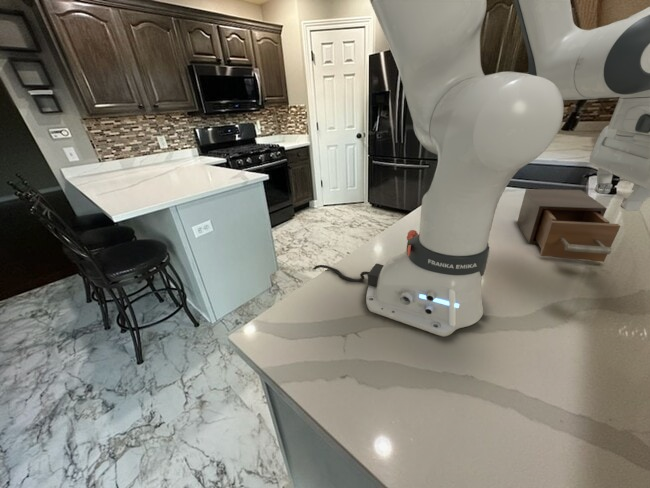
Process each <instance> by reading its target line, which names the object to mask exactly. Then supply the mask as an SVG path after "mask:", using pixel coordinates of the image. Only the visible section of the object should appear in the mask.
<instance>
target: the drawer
mask: <svg viewBox="0 0 650 488" xmlns="http://www.w3.org/2000/svg"><path fill="white" fill-rule="evenodd" d="M620 228H621V225H620V224H619V223H610V221H609V220H608V219H607V218H606V217H604V216H601V215H600V214H599V213H598V212H596V211H582V210H555V209H543V210H542V213H541V217H540V220H539V223H538V226H537V230H536V233H535V236H534V237H535V239H536V241H537V242H538V244H537V245H538V246H539V247H540V252H539V255H540V256H541V257H547V258H558V259H569V260H570V259H571V260H572V259H573V260H580V261H592V262H600V263H601V262H602V263H604V262H605V261H606V258H607V256H608V255H610V254H612V246H613V244H614V241H615V239H616V237H617V235H618V233H619V230H620Z"/></svg>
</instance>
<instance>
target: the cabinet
mask: <svg viewBox="0 0 650 488" xmlns="http://www.w3.org/2000/svg"><path fill="white" fill-rule="evenodd" d="M520 206H521V207H520V210H519V213H518V217H517V221H516V222H517V225H518V226H519V228H520V230H521V232H522V234H523V235H524V237H525V239H526V242H527V243H528V244H530V245H539V244H538V242H537V241H536V239H535V237H534V236H535V233H536V230H537V226H538V223H539V220H540V217H541V213H542V210H543V209H555V210H582V211H596V212H598V213H599V214H600V215H601V216H603V217H604V216H605V214H606V211H607V207H606V206H604V205H603V204H601V203H600V202H599V201H597V200H596V199H594V198H593V197H592V196H590V195H589V194H588V193H586V192H585V191H583V190H582V189H547V188H544V189H543V188H542V189H541V188H537V189H536V188H526V189H525V191H524V195H523V199H522V202H521V205H520Z"/></svg>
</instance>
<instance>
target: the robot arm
mask: <svg viewBox="0 0 650 488" xmlns="http://www.w3.org/2000/svg"><path fill="white" fill-rule="evenodd" d="M513 2H514V6H515V10H516V14H517V17H518V22H519V26H520V29H521V33H522V37H523V40H524V45H525V49H526V53H527V60H528V61H527V62H528V72H527V73H525V72H518V71H500V72H495V73H490V74H485V73H484V71H483V67H482V59H481V58H482V57H481V31H482V25H483V22H484V19H485V17H486V12H487V6H488V5H487V0H369V3H370V5H371V7H372V9H373V12H374V14H375V17H376V19H377V22H378V24H379V26H380V28H381V31H382V33H383V36H384V38H385V41H386V42H387V45H388V47H389V49H390V53H391V54H392V57H393V60H394V61H395V64H396V67H397V70H398V73H399V76H400V80H401V83H402V87H403V91H404V96H405V99H406V102H407V103H406V104H407V106H408V110H409V113H410V117H411V120H412V125H413V132H414V134H415V136H416V138H417V140H418V141H419V143H420V144H421V145H422V147H423V148H424V149H425V150H426V151H428V152H430V153H432V154H434V155H436V156H437V163H436V169H435V172H434V174H433V178H432V180H431V184H430V186H429V188H428V190H427V191H426V192H425V193H424V194H423V197H422V199H421V205H420V206H421V207H420V219H419V230H418V231H419V233H418V232H417V230H415V229H410V230H409V231H408V232H407V236H406V240H407V243H406V251H403V252H402V253H400V254H398V255H395V256H393V257H391V258H389V259H388V260H386V261H385V263H384V264H381V263H378V262H377V263H375V264H374V265H373V267H372V268H371V269H370V271H362V272H360V275H359V276H360V278H352V277H349V276H346V275H344V274H343V273H342V272H341V271H340V270H338V269H336V268H335V267H332V266H329V265H325V264H318V265H314V267H313V268H312V269H313V270H317V269H319V268H320V269H321V268H323V269H327V270H330V271H333V272H334V273H337V274H338V276H339V277H340V278H342V279H343V280H346V281H349V282H351V283H352V282H353V283H361V282H363V281H364V280H365V276H366V275H367V285H368V287H367V290H366V296H365V297H366V298H365V303H366V307H367V309H368V310H369V312H371V313H374V314H376V315H379V316H382V317H384V318H388V319H391V320H394V321H396V322H400V323H402V324H405V325H408V326H410V327H413V328H416V329H419V330H422V331H426V332H428V333H431V334H434V335H437V336H439V337H448V336H450V335H452V334H453V333H454V332H456V331H457V330H459V329H463V328H466V327H470V326H473V325H475V324H476V323H478V322H479V321H480V320H481V318H482V317H483V314H484V305H483V299H482V280H483V279H482V278H483V276H484V275H485V272H486V270H487V266H488V262H489V257H490V245H489V244H490V243H489V238H490V234H491V231H492V227H493V222H494V218H495V214H496V210H497V207H498V204H499V202H500V199H501V197H502V195H503V193H504V192H505V190H506V188H507V187H508V185H509V183H510V182H511V181H512V180H513V178H514V176H515V175H516V174H517V172H519V171H520V170H521V169H522V168H523V167H525V166H527V165H529V164H530V163H532V162H533V161H534V160H536V159H538V158H539V157H540V156H541V155H543V153H544V152H545V151H547V149H548V148H549V147H550V146H551V144H552V143H553V142H554V140H555V138H556V136H557V134H558V133H559V131H560V128H561V126H562V123H563V118H564V111H565V109H564V107H565V106H564V102H568V101H573V100H574V101H576V100H578V101H579V100H580V101H581V100H596V99H597V100H598V99H606V98H607V99H611V98H618V100H617V103H616V105H615V108H614V111H613V113H612V115H611V119H610V121H609V124H608V125H607V126H605V127H604V128H603V129H602V130H601V132H600V133H599V135H598V137H597V139H596V141H595V144H594V145H593V148H592V151H591V152H590V156H589V165H592V166H593V167H596V168H598V170H597V172H596V185H595V187H594V192H596V193H597V194H600V195H601V194H603V195H608V194H609V193H610V192H611V190H612V188H613V186H614V185H613V184H612V180H613V177H614V176H616V177H619V178H620V179H623V180H625V181H627V182H629V183H630V184H633V185H632V187H631V191H632V192H631V194H629V196H628V197H623V199H622V202H621V203H620V208H621V209H623V210H625V211H627V212H637V211H639V210H640V209H641V208H642V206H643V204H644V202H645V201H646V200H648V199H649V198H650V6H648V7H646V8H645V9H642V10H641V11H638V12H637V13H635V14H632V15H630V16H628V17H627V18H625V19H621V20H618V21H614V22H612V23H610V24H607V25H602V26H599V27H595V28H591V29H582V28H580V27H578V26H577V25H576V24H575V22H574V16H573V10H572V4H571V0H513ZM364 275H365V276H364Z"/></svg>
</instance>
